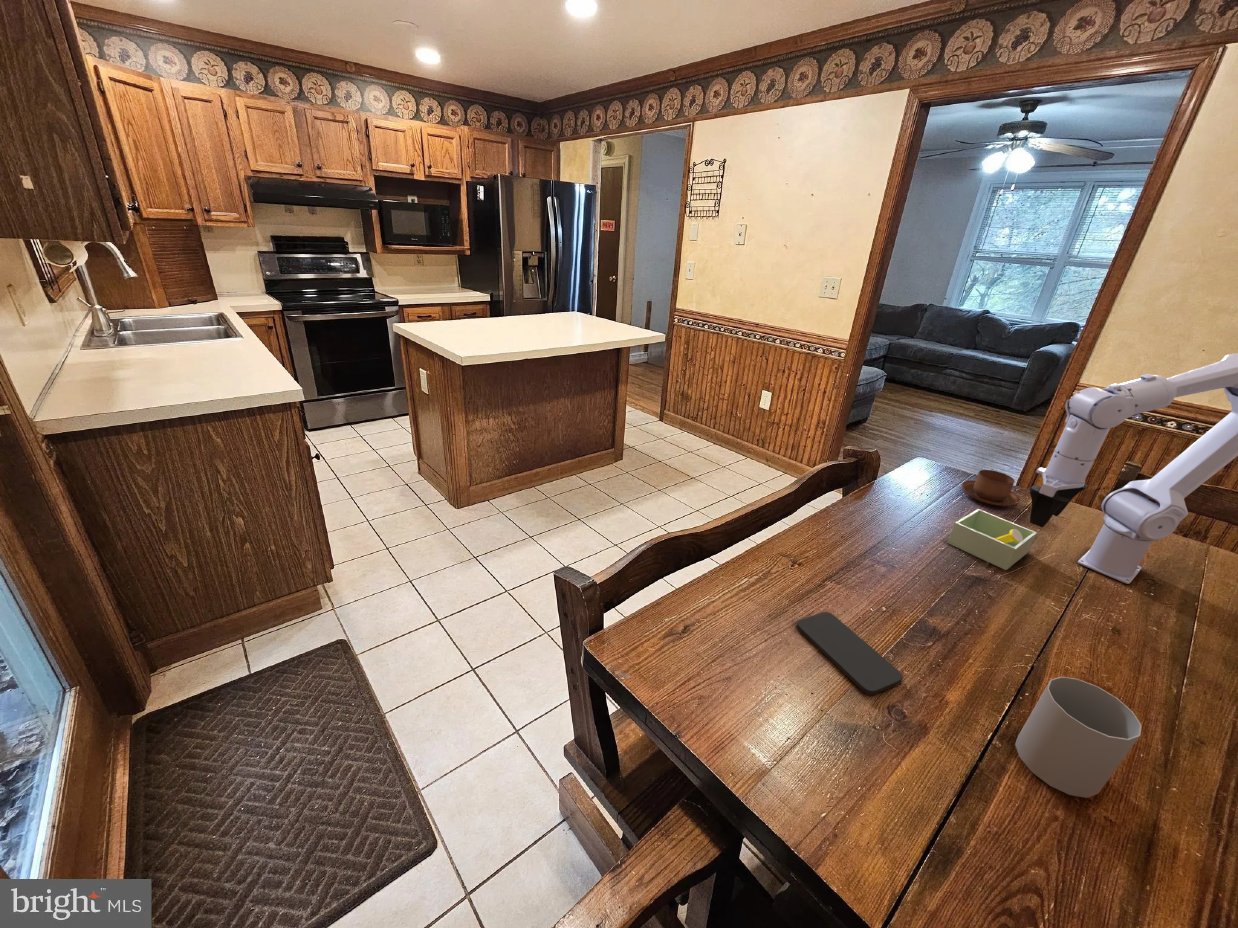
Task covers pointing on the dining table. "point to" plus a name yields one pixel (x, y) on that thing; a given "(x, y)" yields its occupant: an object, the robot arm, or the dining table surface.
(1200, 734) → the dining table surface
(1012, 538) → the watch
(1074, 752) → the cup
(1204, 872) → the dining table surface
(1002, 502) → the cup and saucer
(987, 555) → the bin
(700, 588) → the dining table surface
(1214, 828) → the dining table surface
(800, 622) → the phone
